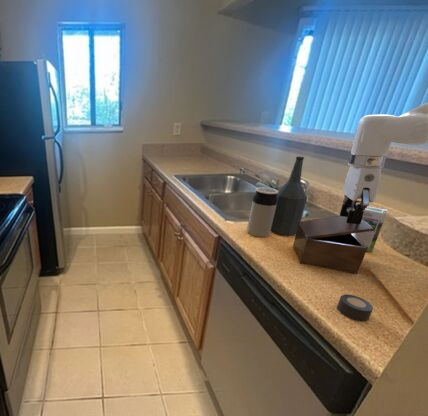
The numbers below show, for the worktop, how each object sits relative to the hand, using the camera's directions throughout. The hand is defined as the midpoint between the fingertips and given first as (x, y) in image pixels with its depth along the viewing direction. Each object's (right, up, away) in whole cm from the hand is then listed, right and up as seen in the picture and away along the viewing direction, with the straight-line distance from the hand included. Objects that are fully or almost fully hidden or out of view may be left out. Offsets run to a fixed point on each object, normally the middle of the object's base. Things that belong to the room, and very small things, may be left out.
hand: (349, 219), depth 84 cm
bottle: (-4, -6, +26) cm, 27 cm away
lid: (-3, -3, +2) cm, 5 cm away
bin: (-3, -13, +7) cm, 15 cm away
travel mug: (-14, -7, +25) cm, 29 cm away
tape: (-14, -22, -16) cm, 31 cm away
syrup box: (+17, -11, +14) cm, 24 cm away
